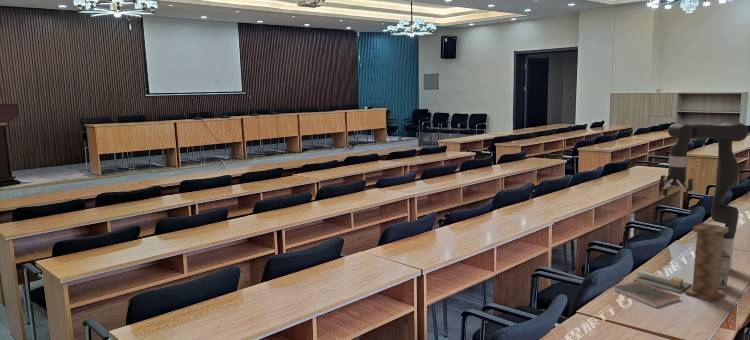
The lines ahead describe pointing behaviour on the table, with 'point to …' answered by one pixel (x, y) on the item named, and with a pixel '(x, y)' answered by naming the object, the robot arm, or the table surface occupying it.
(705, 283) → the walnut stand
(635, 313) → the table surface
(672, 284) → the steel bar
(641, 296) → the picture frame
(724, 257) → the coffee box
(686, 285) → the rubber mat
